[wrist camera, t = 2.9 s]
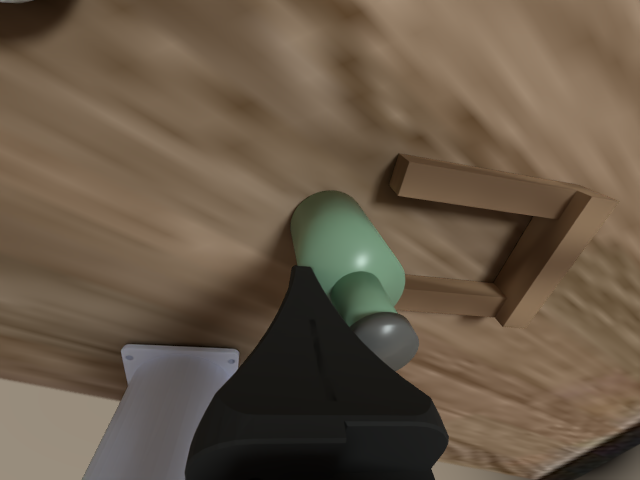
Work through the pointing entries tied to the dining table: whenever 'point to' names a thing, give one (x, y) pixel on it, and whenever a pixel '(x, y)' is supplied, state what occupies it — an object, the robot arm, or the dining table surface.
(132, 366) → the robot arm
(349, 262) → the bottle
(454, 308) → the cradle
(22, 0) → the ceramic mug
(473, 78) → the dining table surface
